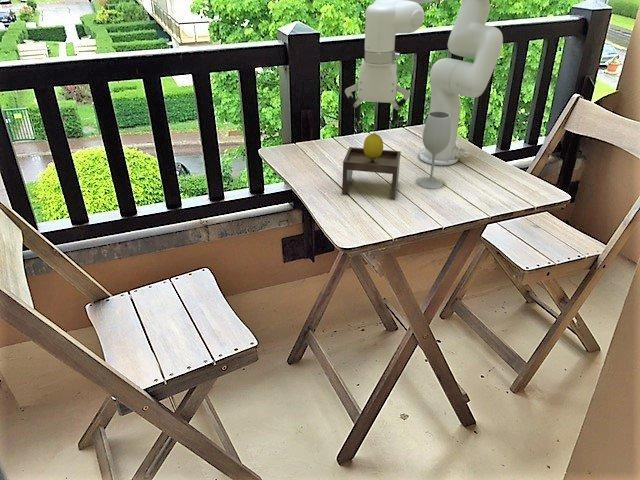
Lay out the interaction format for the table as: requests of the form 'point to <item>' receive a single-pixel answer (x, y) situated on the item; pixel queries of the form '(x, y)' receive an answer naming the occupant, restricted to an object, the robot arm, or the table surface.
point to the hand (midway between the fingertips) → (375, 121)
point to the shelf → (371, 166)
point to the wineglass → (435, 142)
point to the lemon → (373, 146)
